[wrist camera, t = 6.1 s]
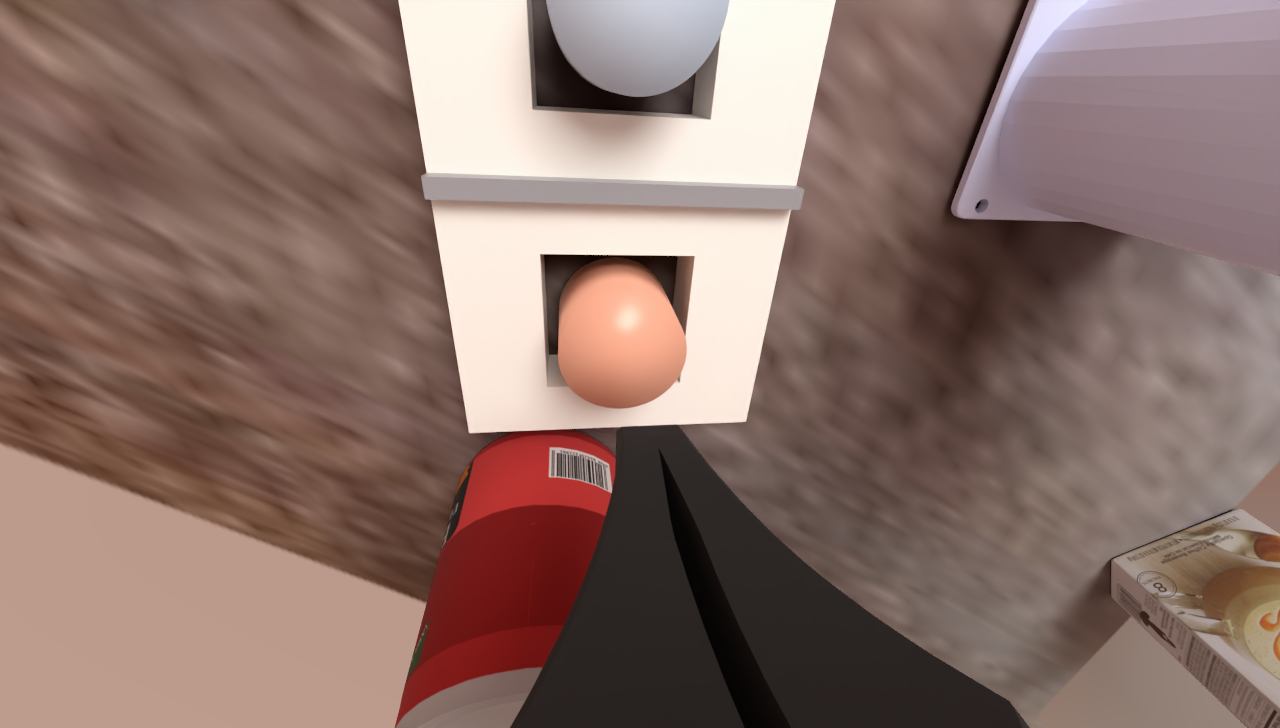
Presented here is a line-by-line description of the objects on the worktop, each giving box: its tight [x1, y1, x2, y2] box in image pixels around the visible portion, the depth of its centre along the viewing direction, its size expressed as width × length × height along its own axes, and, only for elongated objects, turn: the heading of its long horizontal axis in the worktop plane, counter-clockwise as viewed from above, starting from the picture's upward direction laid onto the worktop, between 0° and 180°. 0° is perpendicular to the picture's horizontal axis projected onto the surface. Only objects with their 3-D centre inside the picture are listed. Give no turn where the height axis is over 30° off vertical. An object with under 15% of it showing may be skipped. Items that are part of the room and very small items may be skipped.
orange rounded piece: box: [558, 257, 687, 409], centre depth 16 cm, size 4×4×4 cm
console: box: [398, 0, 836, 433], centre depth 15 cm, size 11×18×3 cm, turn 177°
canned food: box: [395, 429, 616, 728], centre depth 18 cm, size 8×8×11 cm
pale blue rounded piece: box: [546, 0, 729, 97], centre depth 12 cm, size 4×4×4 cm
